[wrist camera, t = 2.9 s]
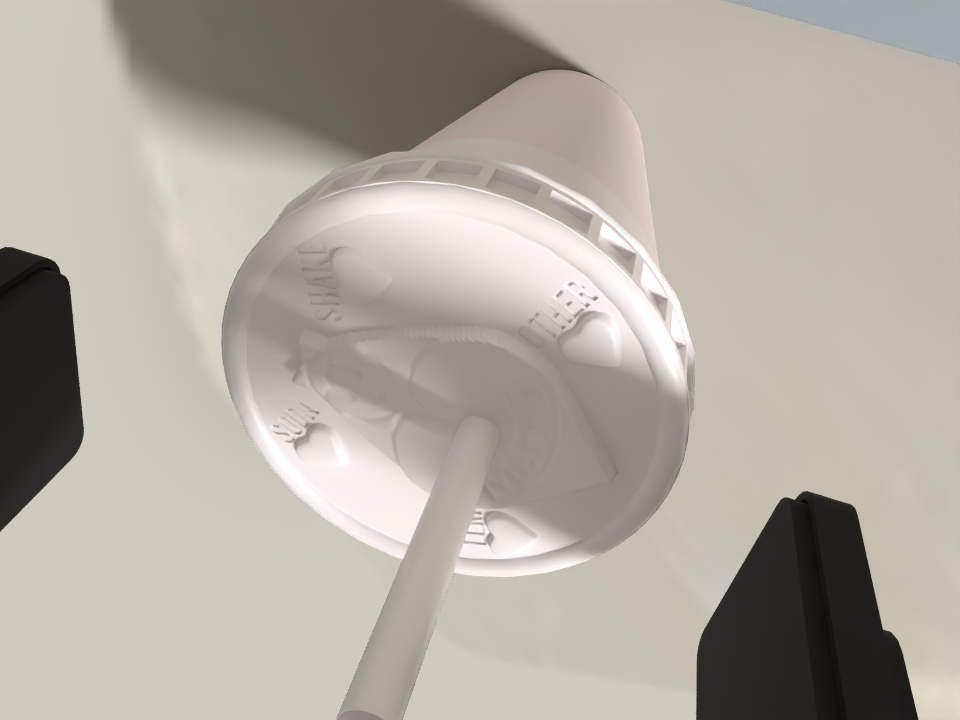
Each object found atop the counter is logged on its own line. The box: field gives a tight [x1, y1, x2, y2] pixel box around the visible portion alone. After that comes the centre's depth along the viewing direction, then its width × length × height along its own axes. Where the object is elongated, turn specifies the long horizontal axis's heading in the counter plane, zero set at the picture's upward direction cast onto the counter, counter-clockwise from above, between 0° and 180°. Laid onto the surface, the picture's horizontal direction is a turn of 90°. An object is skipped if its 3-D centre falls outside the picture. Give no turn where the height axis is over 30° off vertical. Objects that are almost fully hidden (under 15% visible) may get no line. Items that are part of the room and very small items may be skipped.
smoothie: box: [221, 70, 695, 720], centre depth 13 cm, size 6×6×14 cm
